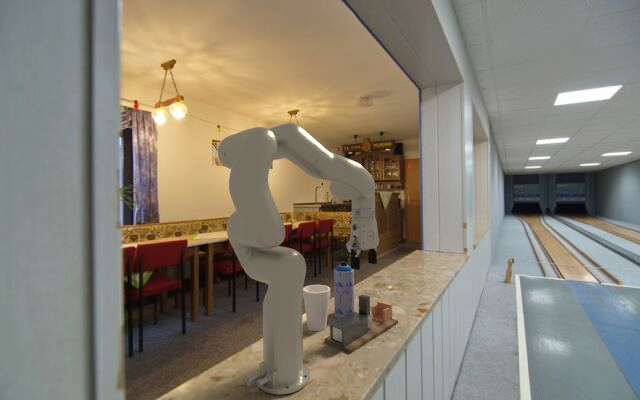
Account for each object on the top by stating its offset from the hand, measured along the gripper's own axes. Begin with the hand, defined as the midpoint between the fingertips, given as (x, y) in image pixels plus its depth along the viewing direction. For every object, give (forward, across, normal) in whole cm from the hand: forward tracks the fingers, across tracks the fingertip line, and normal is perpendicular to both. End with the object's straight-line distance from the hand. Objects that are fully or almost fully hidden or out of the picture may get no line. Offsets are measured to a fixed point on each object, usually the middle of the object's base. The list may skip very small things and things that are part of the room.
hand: (364, 266), depth 94 cm
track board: (+21, -2, 0) cm, 21 cm away
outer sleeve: (+20, -8, 0) cm, 22 cm away
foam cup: (+22, -8, +14) cm, 27 cm away
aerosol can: (+22, +6, +14) cm, 26 cm away
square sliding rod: (+19, -6, 0) cm, 20 cm away
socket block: (+20, +10, 0) cm, 23 cm away
